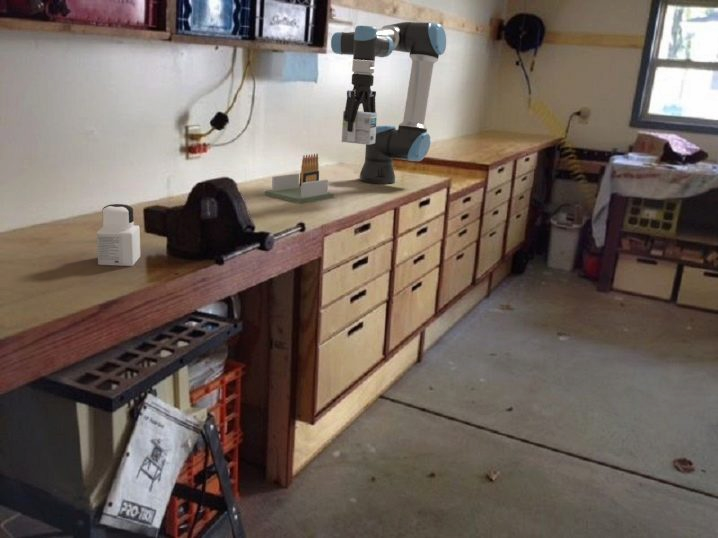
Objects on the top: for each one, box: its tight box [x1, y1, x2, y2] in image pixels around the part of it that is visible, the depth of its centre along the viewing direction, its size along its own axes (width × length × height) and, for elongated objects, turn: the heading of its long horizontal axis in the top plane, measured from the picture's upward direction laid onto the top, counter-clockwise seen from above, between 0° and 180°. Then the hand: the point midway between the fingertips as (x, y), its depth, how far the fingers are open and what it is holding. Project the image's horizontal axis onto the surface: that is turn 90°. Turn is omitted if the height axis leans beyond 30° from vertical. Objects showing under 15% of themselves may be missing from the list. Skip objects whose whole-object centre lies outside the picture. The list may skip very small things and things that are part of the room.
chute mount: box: [264, 173, 335, 204], centre depth 241 cm, size 18×17×6 cm
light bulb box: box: [341, 110, 378, 146], centre depth 236 cm, size 11×7×11 cm, turn 71°
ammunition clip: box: [299, 153, 320, 186], centre depth 264 cm, size 11×2×12 cm, turn 149°
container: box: [96, 203, 141, 267], centre depth 153 cm, size 8×8×13 cm
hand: (358, 140), depth 237 cm, fingers closed on light bulb box, 8 cm apart
